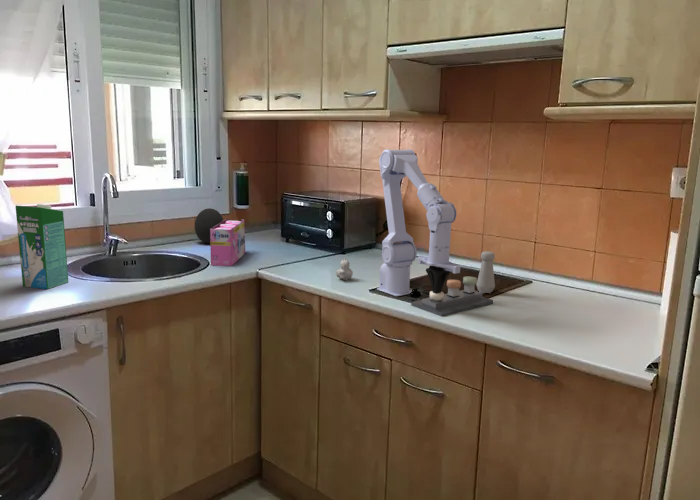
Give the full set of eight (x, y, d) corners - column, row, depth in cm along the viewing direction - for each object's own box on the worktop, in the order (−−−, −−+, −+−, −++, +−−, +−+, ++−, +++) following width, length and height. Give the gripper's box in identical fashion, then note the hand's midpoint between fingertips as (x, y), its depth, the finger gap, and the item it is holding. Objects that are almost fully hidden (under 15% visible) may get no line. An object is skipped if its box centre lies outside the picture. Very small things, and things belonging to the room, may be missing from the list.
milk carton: (68, 282, 184) (62, 203, 179) (47, 289, 176) (40, 207, 171) (45, 279, 187) (38, 201, 181) (22, 286, 178) (15, 205, 173)
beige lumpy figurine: (354, 278, 199) (355, 255, 197) (349, 283, 192) (349, 259, 191) (339, 276, 200) (339, 254, 198) (333, 281, 194) (334, 258, 192)
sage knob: (459, 291, 176) (460, 277, 175) (468, 289, 178) (469, 275, 177) (469, 294, 173) (470, 280, 172) (478, 292, 175) (479, 278, 174)
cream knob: (426, 306, 168) (426, 292, 167) (435, 303, 170) (436, 289, 169) (436, 309, 165) (437, 295, 164) (445, 307, 167) (446, 293, 166)
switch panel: (411, 305, 170) (411, 296, 169) (462, 293, 183) (462, 285, 182) (441, 316, 160) (442, 307, 160) (492, 303, 174) (493, 294, 173)
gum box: (227, 251, 235) (226, 218, 232) (246, 252, 234) (246, 219, 231) (210, 265, 211) (209, 228, 208) (231, 266, 211) (231, 229, 208)
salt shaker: (481, 288, 190) (484, 249, 187) (497, 291, 186) (500, 252, 184) (472, 292, 185) (475, 251, 183) (489, 295, 182) (492, 254, 179)
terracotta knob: (443, 294, 172) (444, 280, 171) (452, 292, 174) (453, 278, 173) (453, 297, 168) (454, 283, 168) (462, 295, 171) (463, 281, 170)
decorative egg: (206, 239, 258) (205, 205, 254) (230, 242, 253) (229, 207, 250) (188, 244, 246) (187, 209, 243) (213, 247, 242) (212, 211, 239)
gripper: (411, 243, 167) (409, 288, 170) (449, 252, 156) (445, 301, 159) (428, 240, 171) (426, 285, 174) (466, 249, 160) (463, 297, 163)
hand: (436, 292), depth 167 cm, fingers closed, pressing on cream knob
